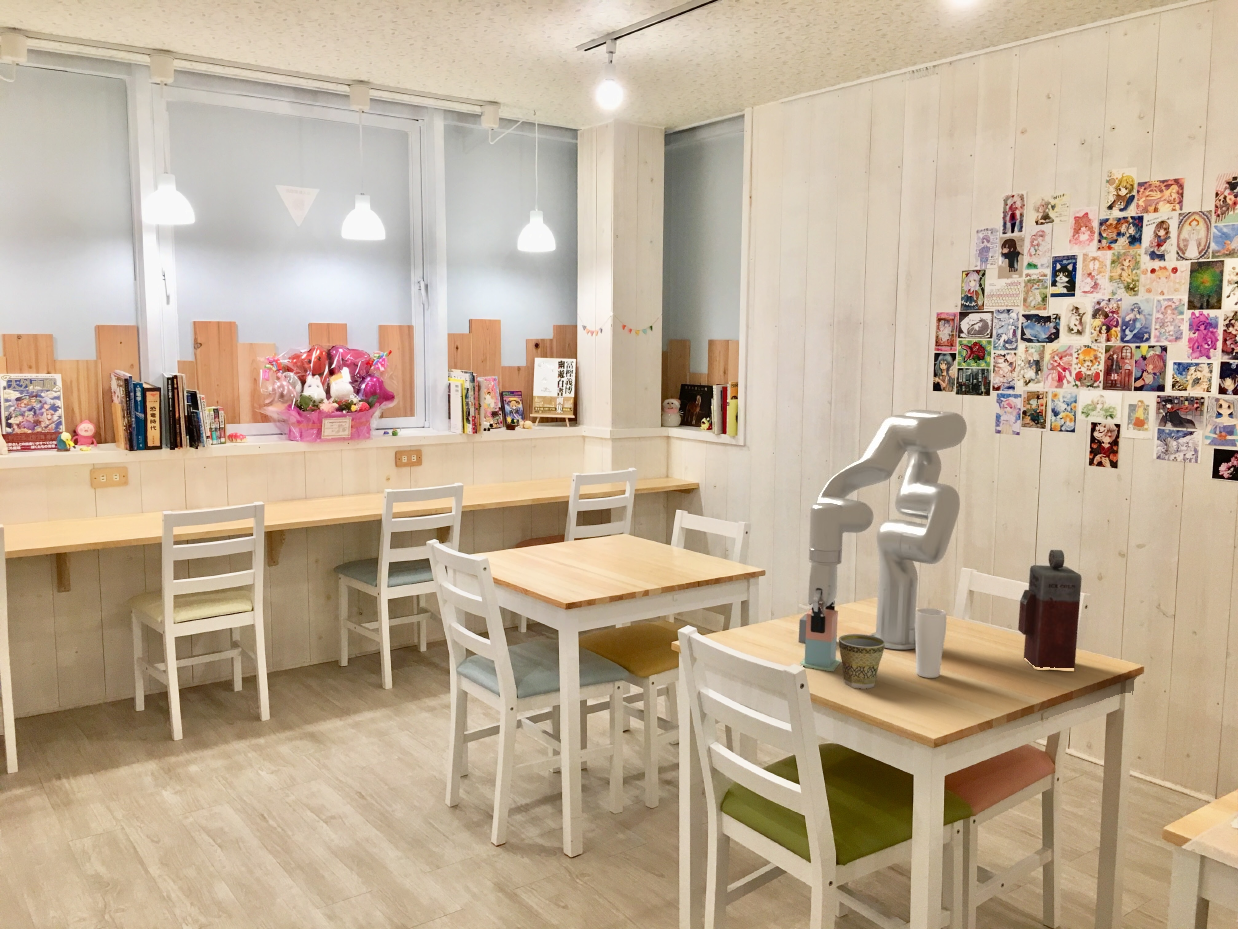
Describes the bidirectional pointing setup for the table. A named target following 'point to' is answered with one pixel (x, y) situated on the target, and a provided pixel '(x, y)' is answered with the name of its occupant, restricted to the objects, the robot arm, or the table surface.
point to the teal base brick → (820, 652)
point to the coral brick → (830, 626)
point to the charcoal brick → (802, 629)
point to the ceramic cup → (860, 659)
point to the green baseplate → (822, 666)
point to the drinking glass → (929, 641)
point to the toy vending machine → (1051, 614)
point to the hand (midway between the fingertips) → (822, 626)
